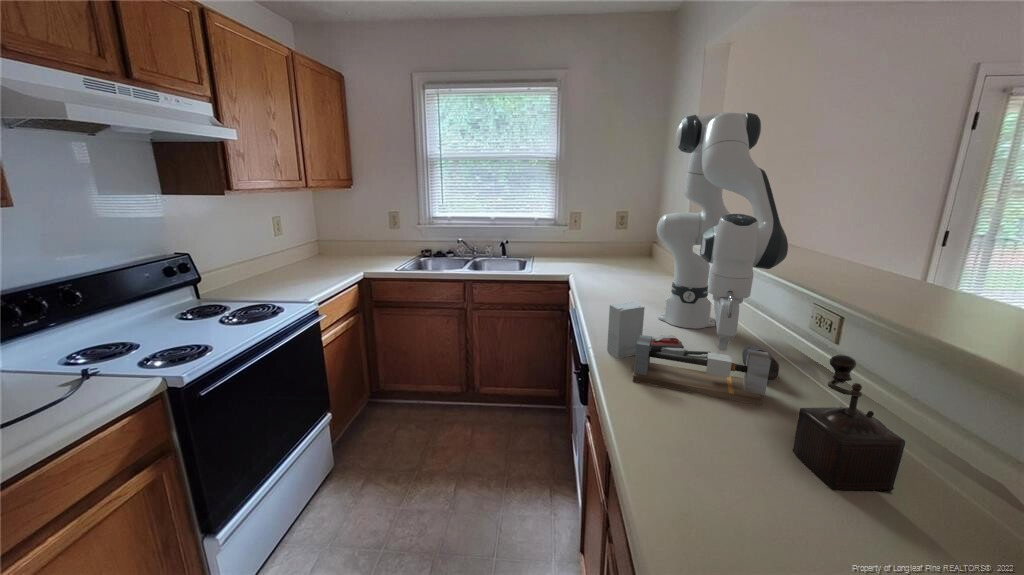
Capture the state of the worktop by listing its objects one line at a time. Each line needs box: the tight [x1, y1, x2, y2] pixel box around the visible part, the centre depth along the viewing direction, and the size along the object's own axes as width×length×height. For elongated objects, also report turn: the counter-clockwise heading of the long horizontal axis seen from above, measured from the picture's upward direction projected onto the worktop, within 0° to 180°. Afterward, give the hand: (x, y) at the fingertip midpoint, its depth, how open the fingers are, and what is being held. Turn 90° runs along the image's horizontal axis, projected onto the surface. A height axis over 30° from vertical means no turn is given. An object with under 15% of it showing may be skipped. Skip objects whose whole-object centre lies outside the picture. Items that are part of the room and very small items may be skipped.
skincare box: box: [606, 301, 646, 359], centre depth 119 cm, size 8×6×15 cm
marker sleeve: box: [705, 351, 733, 378], centre depth 99 cm, size 4×5×4 cm
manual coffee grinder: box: [792, 354, 906, 492], centre depth 72 cm, size 16×11×18 cm
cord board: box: [632, 334, 771, 406], centre depth 101 cm, size 10×29×10 cm, turn 66°
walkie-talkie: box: [651, 334, 712, 356], centre depth 123 cm, size 9×4×20 cm
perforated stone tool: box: [741, 344, 780, 382], centre depth 109 cm, size 15×5×7 cm, turn 170°
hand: (721, 342), depth 98 cm, fingers open, 8 cm apart
